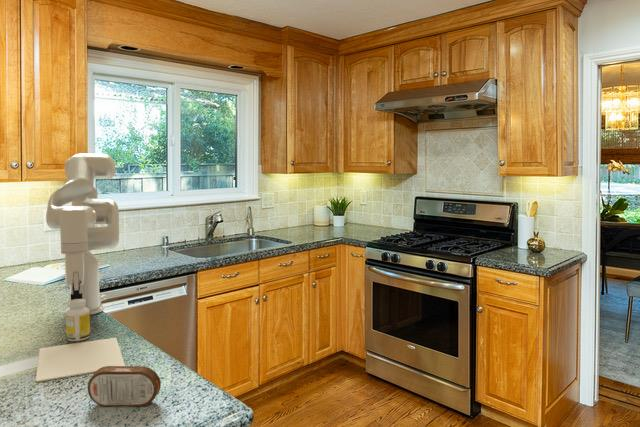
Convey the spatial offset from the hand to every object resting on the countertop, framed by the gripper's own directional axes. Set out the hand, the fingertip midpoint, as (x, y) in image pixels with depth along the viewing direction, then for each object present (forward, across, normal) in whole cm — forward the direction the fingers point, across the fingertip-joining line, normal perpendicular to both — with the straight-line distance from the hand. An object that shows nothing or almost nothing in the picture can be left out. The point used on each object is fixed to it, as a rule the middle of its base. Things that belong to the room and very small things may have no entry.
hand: (76, 306), depth 152 cm
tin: (+9, +57, +8) cm, 58 cm away
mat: (+9, +24, 0) cm, 25 cm away
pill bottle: (+9, +6, 0) cm, 11 cm away
